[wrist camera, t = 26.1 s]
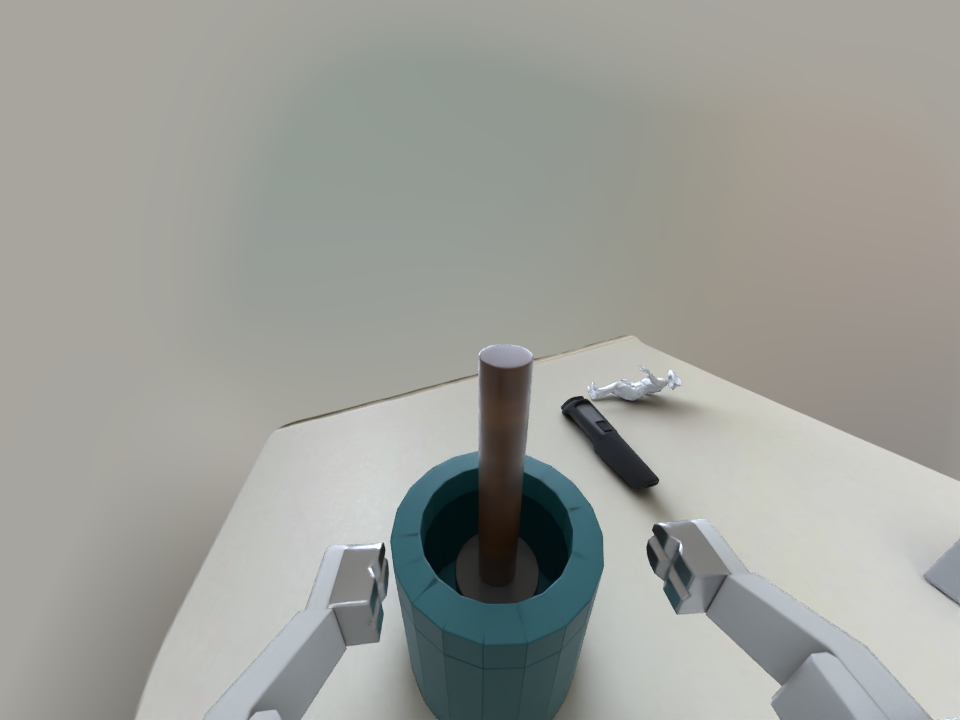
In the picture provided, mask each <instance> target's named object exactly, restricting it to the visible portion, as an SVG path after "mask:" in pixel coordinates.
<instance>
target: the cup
mask: <svg viewBox="0 0 960 720" xmlns="http://www.w3.org/2000/svg"><path fill="white" fill-rule="evenodd" d="M478 533H479V451H477V452H472V453H468V454H464V455H460V456H456V457H454V458H451V459H449V460H447V461H445V462H443V463H441V464H439V465H437V466H435V467H433V468H432V469H431V470H429V471H428V472H427V473H426V474H425V475H424V476H423V477H421V478H420V479H419V480H418V481H417V482H416V483H415V484H414V485H413V486H412V487H411V488H410V489H409V491H408V493H407V494H406V496H405V497H404V499H403V501H402V502H401V504H400V506H399V507H398V509H397V512H396V516H395V521H394V525H393V530H392V534H391V540H390V542H391V550H392V559H393V567H394V573H395V579H396V584H397V589H398V595H399V600H400V605H401V611H402V616H403V621H404V627H405V632H406V637H407V643H408V648H409V653H410V659H411V664H412V669H413V673H414V675H415V678H416V681H417V684H418V687H419V690H420V692H421V694H422V696H423V698H424V700H425V702H426V704H427V705H428V707H429V708H430V710H431V711H432V713H433V714H434V715H435V716H436V717H437V719H438V720H551V719H552V718H553V717H554V716H555V714H556V713H557V712H558V710H559V708H560V707H561V705H562V703H563V701H564V699H565V697H566V695H567V692H568V689H569V687H570V684H571V680H572V677H573V674H574V671H575V668H576V665H577V661H578V658H579V654H580V650H581V647H582V643H583V640H584V636H585V632H586V629H587V625H588V622H589V618H590V614H591V611H592V607H593V604H594V600H595V596H596V593H597V589H598V586H599V582H600V579H601V575H602V571H603V567H604V557H603V535H602V532H601V529H600V526H599V524H598V521H597V518H596V516H595V513H594V511H593V508H592V507H591V505H590V503H589V502H588V501H587V500H586V498H585V497H584V496H583V494H582V493H581V492H580V490H579V489H578V488H577V487H576V485H575V484H574V483H573V482H571V481H570V480H569V479H568V478H566V477H565V476H564V475H562V474H561V473H560V472H559V471H557V470H556V469H555V468H552V466H550V465H548V464H545V463H543V462H541V461H539V460H536V459H534V458H532V457H530V456H529V457H528V456H527V455H525V465H524V477H523V489H522V501H521V513H520V525H519V537H520V538H521V539H522V540H523V541H525V542H526V543H527V544H528V545H529V547H530V548H531V549H532V551H533V553H534V554H535V557H536V559H537V562H538V565H539V572H540V578H539V586H538V594H537V596H534V597H532V598H529V599H527V600H524V601H522V602H519V603H512V604H485V603H482V602H479V601H476V600H473V599H470V598H467V597H464V596H461V595H459V594H458V593H457V592H456V586H455V563H456V559H457V556H458V554H459V552H460V550H461V548H462V547H463V545H464V544H465V543H466V542H467V541H468V540H469V539H470V538H472V537H473V536H475V535H477V534H478Z"/></svg>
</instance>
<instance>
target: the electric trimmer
mask: <svg viewBox="0 0 960 720" xmlns="http://www.w3.org/2000/svg"><path fill="white" fill-rule="evenodd" d="M561 409H562V410H563V411H562V413H563V414H564V415H568V414H569V415H570V416H571V417H572V418H573V419H574V420H575V422H576V423H577V424H578V425H579V426H580V427H581V428H582V430H583V431H584V432H585V433H586V434H587V435H588V436H589V438H590V439H591V440H592V441H593V444H594V449H595V452H596V453H597V454H598V455H599V456H600V457H601V458H602V459H603V460H604V461H605V462H606V463H607V464H608V465H609V466H610V467H611V468H612V469H613V470H615V471H616V472H617V473H618V474H619V475H620V476H621V477H622V478H623V479H624V480H625V481H626V482H627V483H628V484H630V485H631V486H632V487H633V488H634V489H636V490H639V489H643V488H647V487H651V486H655V485H657V484H658V482H659V479H658V477H657V476H656V475H655V474H654V473H653V472H652V471H651V469H650V468H649V467H648V466H647V465H646V464H645V463H644V462H643V461H642V460H641V458H640V457H639V456H638V455H637V454H636V453H635V452H634V451H633V450H632V449H631V448H630V446H629V445H628V444H627V443H626V442H625V441H624V440H623V439H622V438H621V437H620V435H619V434H618V432H617V431H616V430H615V429H614V427H613V426H612V425H611V424H610V423H609V422H608V421H607V420H606V419H605V417H604V416H603V415H602V414H601V413H600V412H599V411H598V410H597V409H596V408H595V406H594V405H593V404H592V403H591V402H590V401H589V400H588V399H584V397H583V396H578V397H573V398H571V399H569V400H567V401H566V402H565V403H564V404H563V405H562V407H561Z"/></svg>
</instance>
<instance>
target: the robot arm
mask: <svg viewBox="0 0 960 720" xmlns="http://www.w3.org/2000/svg"><path fill="white" fill-rule="evenodd" d="M652 531H653V533H654V536H653V537H652V538H650V539H649V540H648V544H647V547H646V548H647V556H648V560H649V562H650V565H651V567H652V569H653V571H654V573H655V574H656V575H657V576H658V577H660V578H661V579H662V580H663V581H664V587H663V590H664V592H665V594H666V595H667V597H668V599H669V601H670V603H671V605H672V607H673V608H674V610H675V612H676V614H693V613H706V615H707V616H708V617H709V618H710V619H711V620H712V621H713V622H714V623H715V624H716V625H717V626H718V627H719V628H720V629H722V630H723V631H724V632H725V633H726V634H727V635H728V636H729V637H730V638H731V639H732V640H733V641H734V642H735V643H736V644H738V645H739V646H740V647H741V648H742V649H743V650H744V651H745V652H746V653H747V654H748V655H749V656H750V657H751V658H753V659H754V660H755V661H756V662H757V663H758V664H759V665H760V666H761V667H762V668H763V669H764V670H765V671H766V672H767V673H769V674H770V675H771V676H772V677H773V678H774V679H775V680H776V681H777V682H778V683H779V684H780V685H781V686H782V687H781V688H780V689H779V690H778V691H777V692H776V694H775V695H774V696H773V697H772V700H771V705H772V707H773V708H774V710H775V712H776V713H777V715H778V717H779V718H780V720H933V719H932V718H931V717H930V716H929V714H928V713H927V712H926V711H925V710H924V709H923V708H922V707H921V706H920V705H919V703H918V702H917V701H916V700H915V699H914V698H913V697H912V696H911V695H910V694H909V692H908V691H907V690H906V689H905V688H904V687H903V686H902V685H901V684H900V683H899V681H898V680H897V679H896V678H895V677H894V676H893V675H892V674H891V673H890V672H889V670H888V669H887V668H886V667H885V666H884V665H883V664H882V663H881V662H880V661H879V659H878V658H877V657H876V656H875V655H874V654H873V653H872V652H871V651H870V650H869V648H868V647H867V646H865V645H864V644H862V643H861V642H859V641H858V640H856V639H855V638H853V637H852V636H850V635H849V634H847V633H846V632H844V631H843V630H841V629H840V628H838V627H837V626H835V625H834V624H832V623H831V622H829V621H828V620H826V619H825V618H823V617H822V616H820V615H819V614H817V613H816V612H814V611H813V610H811V609H810V608H808V607H806V606H805V605H803V604H802V603H800V602H799V601H797V600H796V599H794V598H793V597H791V596H790V595H788V594H787V593H785V592H784V591H782V590H781V589H779V588H778V587H776V586H775V585H773V584H772V583H770V582H769V581H767V580H766V579H764V578H763V577H761V576H760V575H758V574H757V573H750V572H749V570H748V569H747V568H746V567H745V565H744V564H743V563H742V562H741V560H740V559H739V558H738V556H737V555H736V554H735V553H734V551H733V550H732V549H731V548H730V546H729V545H728V544H727V542H726V541H725V540H724V539H723V537H722V536H721V535H720V534H719V532H718V531H717V530H716V529H715V527H714V526H713V525H712V524H711V522H709V521H708V520H706V519H697V520H680V521H669V522H658V523H656V524H654V526H653V529H652ZM384 555H385V546H384V543H371V544H355V545H337V546H329V547H328V548H327V550H326V551H325V553H324V556H323V559H322V562H321V565H320V568H319V571H318V574H317V576H316V579H315V582H314V585H313V588H312V591H311V594H310V597H309V600H308V602H307V605H306V608H305V611H299V612H298V613H297V614H296V615H295V616H294V617H293V618H292V619H291V621H290V622H289V623H288V624H287V625H286V626H285V627H284V628H283V629H282V630H281V632H280V633H279V634H278V635H277V636H276V637H275V638H274V639H273V640H272V641H271V643H270V644H269V645H268V646H267V647H266V648H265V649H264V650H263V651H262V652H261V654H260V655H259V656H258V657H257V658H256V659H255V660H254V661H253V662H252V663H251V665H250V666H249V667H248V668H247V669H246V670H245V671H244V672H243V673H242V674H241V676H240V677H239V678H238V679H237V680H236V681H235V682H234V683H233V684H232V685H231V687H230V688H229V689H228V690H227V691H226V692H225V693H224V694H223V695H222V696H221V698H220V699H219V700H218V701H217V702H216V703H215V704H214V705H213V706H212V707H211V709H210V710H209V711H208V712H207V713H206V714H205V716H204V718H203V720H301V718H302V717H303V715H304V714H305V712H306V711H307V709H308V707H309V706H310V704H311V703H312V701H313V700H314V698H315V697H316V695H317V694H318V692H319V690H320V689H321V687H322V686H323V684H324V683H325V681H326V680H327V678H328V677H329V675H330V673H331V672H332V670H333V669H334V667H335V666H336V664H337V663H338V661H339V660H340V658H341V657H342V655H343V653H344V652H345V650H346V649H347V648H346V646H352V645H360V644H368V643H376V642H379V640H380V633H381V627H382V621H383V615H384V613H383V609H382V604H381V602H382V601H383V600H384V598H385V597H386V595H387V588H388V577H389V568H388V560H387V559H386V558H384ZM939 720H960V717H955V718H947V719H939Z"/></svg>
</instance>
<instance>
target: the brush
mask: <svg viewBox="0 0 960 720" xmlns="http://www.w3.org/2000/svg"><path fill="white" fill-rule="evenodd" d="M532 370H533V355H532V353H531V352H530V351H528V350H527V349H525V348H522V347H519V346H515V345H506V344H504V345H503V344H501V345H493V346H490V347H487V348H485V349H483V350H482V351H481V352H480V354H479V533H478V534H477V535H475V536H473V537H472V538H470V539H469V540H468V541H467V542H466V543H465V544H464V545H463V547H462V548H461V550H460V552H459V554H458V556H457V559H456V563H455V586H456V592H457V593H458V594H459V595H461V596H464V597H467V598H470V599H473V600H476V601H479V602H482V603H485V604H512V603H519V602H522V601H524V600H527V599H529V598H532V597H534V596H537V594H538V586H539V578H540V572H539V565H538V562H537V559H536V557H535V554H534V553H533V551H532V549H531V548H530V547H529V545H528V544H527V543H526V542H525V541H523V540H522V539H521V538H520V537H519V525H520V513H521V501H522V489H523V477H524V465H525V453H526V441H527V429H528V417H529V405H530V394H531V382H532Z"/></svg>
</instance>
